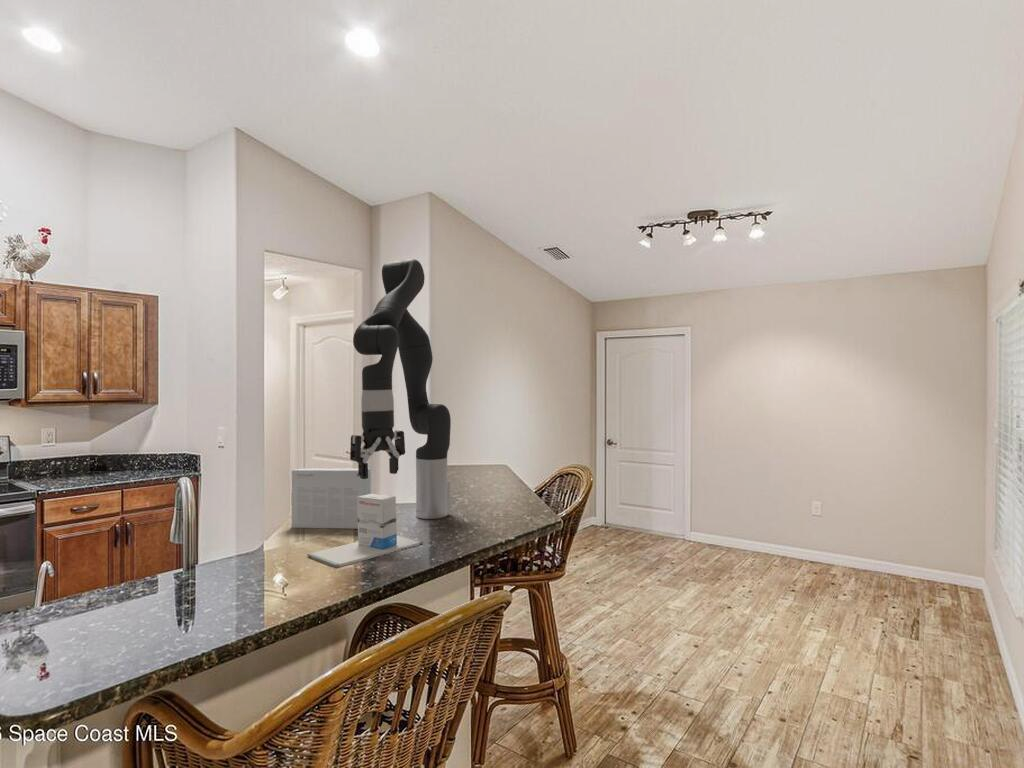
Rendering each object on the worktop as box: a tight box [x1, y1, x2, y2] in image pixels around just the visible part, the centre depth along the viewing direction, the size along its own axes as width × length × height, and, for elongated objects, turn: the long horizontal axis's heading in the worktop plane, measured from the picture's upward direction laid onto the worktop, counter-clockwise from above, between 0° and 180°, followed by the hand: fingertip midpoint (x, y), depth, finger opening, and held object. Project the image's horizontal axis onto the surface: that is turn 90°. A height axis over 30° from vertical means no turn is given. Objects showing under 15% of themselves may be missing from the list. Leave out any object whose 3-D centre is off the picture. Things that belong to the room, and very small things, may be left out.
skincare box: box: [290, 467, 372, 530], centre depth 160 cm, size 21×5×16 cm, turn 84°
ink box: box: [357, 493, 398, 549], centre depth 139 cm, size 9×5×12 cm, turn 60°
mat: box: [306, 533, 424, 569], centre depth 136 cm, size 24×12×1 cm, turn 139°
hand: (379, 476), depth 139 cm, fingers open, 8 cm apart
